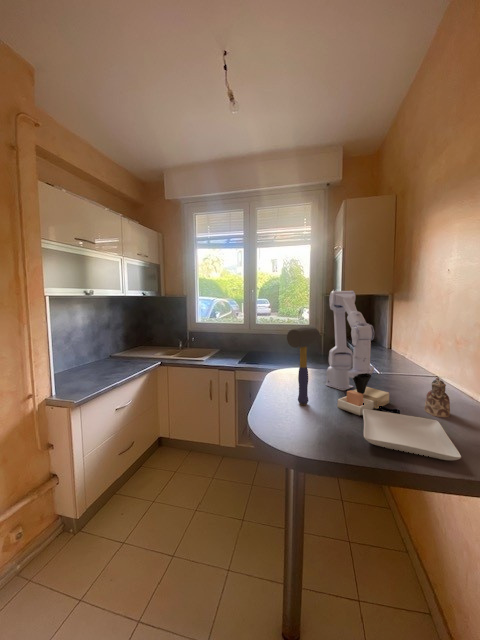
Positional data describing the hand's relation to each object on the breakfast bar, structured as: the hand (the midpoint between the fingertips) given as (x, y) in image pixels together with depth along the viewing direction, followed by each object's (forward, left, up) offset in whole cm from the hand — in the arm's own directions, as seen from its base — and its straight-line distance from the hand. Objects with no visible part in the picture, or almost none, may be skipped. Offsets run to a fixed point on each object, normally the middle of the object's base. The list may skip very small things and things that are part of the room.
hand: (360, 392), depth 96 cm
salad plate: (+19, -11, -6) cm, 23 cm away
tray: (0, -4, -5) cm, 6 cm away
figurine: (+19, +16, -5) cm, 25 cm away
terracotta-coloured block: (0, -2, -2) cm, 3 cm away
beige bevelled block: (0, +7, -5) cm, 9 cm away
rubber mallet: (-14, -16, -5) cm, 22 cm away
